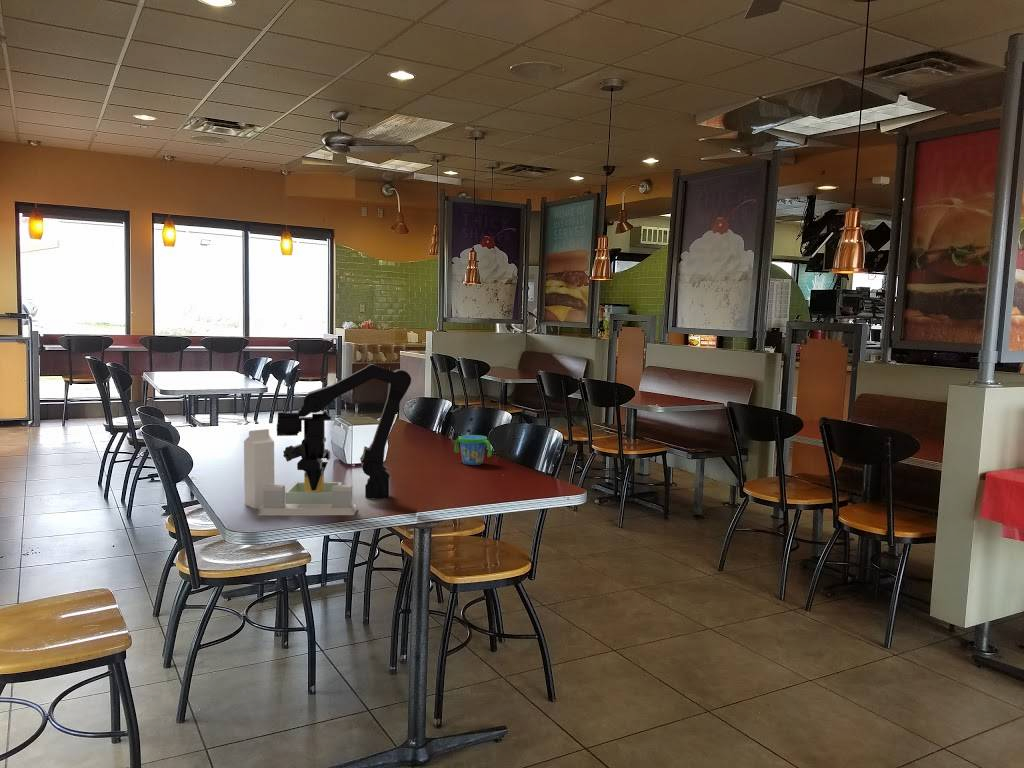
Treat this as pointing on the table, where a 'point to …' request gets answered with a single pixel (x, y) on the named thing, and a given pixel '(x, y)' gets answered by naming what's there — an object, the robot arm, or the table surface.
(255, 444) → the milk
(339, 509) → the fuse holder
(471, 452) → the snack cup
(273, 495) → the block
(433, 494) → the table surface
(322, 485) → the block
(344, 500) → the block
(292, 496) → the green tray
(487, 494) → the table surface
